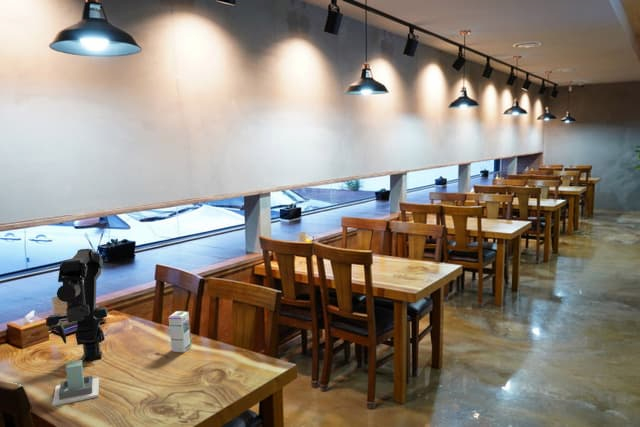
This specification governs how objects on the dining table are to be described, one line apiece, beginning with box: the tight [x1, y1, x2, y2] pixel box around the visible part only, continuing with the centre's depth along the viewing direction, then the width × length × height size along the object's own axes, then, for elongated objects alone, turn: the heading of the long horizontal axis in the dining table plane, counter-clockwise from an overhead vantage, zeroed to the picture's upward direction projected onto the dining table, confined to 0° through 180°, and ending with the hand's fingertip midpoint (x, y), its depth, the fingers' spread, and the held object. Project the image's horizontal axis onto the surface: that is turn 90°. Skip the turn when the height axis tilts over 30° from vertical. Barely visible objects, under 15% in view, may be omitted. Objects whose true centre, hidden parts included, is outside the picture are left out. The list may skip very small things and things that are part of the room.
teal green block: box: [65, 359, 85, 391], centre depth 161 cm, size 4×4×9 cm
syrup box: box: [168, 310, 192, 353], centre depth 193 cm, size 6×6×14 cm
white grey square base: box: [52, 374, 100, 407], centre depth 162 cm, size 13×13×3 cm
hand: (80, 340), depth 171 cm, fingers open, 9 cm apart
